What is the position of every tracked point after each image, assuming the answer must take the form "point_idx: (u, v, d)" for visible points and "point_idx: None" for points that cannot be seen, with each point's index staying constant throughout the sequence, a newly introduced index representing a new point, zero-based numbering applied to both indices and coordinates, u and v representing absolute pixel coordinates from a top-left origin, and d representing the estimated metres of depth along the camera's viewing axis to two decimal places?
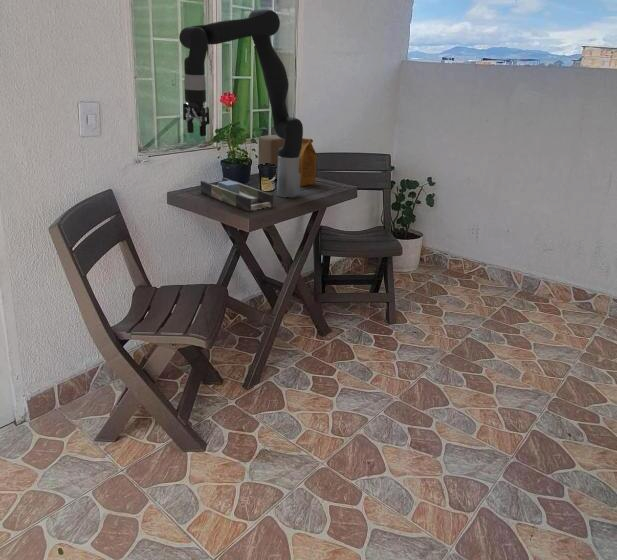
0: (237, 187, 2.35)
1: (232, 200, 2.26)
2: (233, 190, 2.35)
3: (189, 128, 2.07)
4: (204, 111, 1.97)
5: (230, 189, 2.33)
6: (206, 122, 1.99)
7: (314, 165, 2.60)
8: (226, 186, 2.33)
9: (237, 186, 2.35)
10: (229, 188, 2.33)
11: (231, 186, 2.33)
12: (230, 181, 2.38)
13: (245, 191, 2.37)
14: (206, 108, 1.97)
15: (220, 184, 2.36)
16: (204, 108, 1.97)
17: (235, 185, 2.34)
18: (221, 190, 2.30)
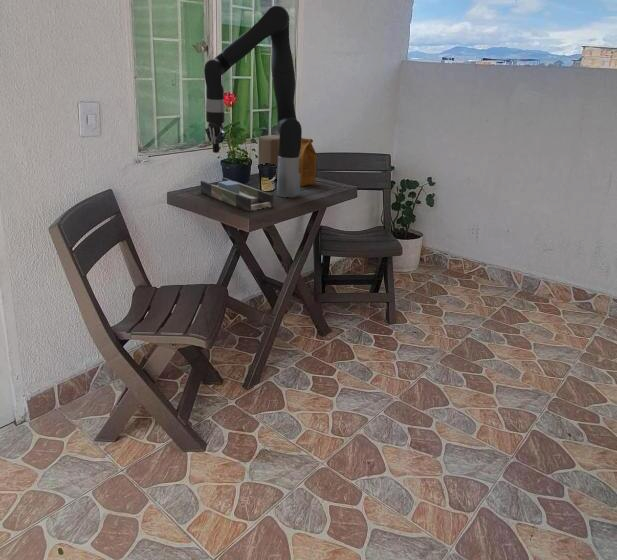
0: (237, 187, 2.35)
1: (232, 200, 2.26)
2: (233, 190, 2.35)
3: None
4: (221, 136, 2.31)
5: (230, 189, 2.33)
6: (219, 142, 2.34)
7: (314, 165, 2.60)
8: (226, 186, 2.33)
9: (237, 186, 2.35)
10: (229, 188, 2.33)
11: (231, 186, 2.33)
12: (230, 181, 2.38)
13: (245, 191, 2.37)
14: (224, 134, 2.31)
15: (220, 184, 2.36)
16: (222, 134, 2.30)
17: (235, 185, 2.34)
18: (221, 190, 2.30)
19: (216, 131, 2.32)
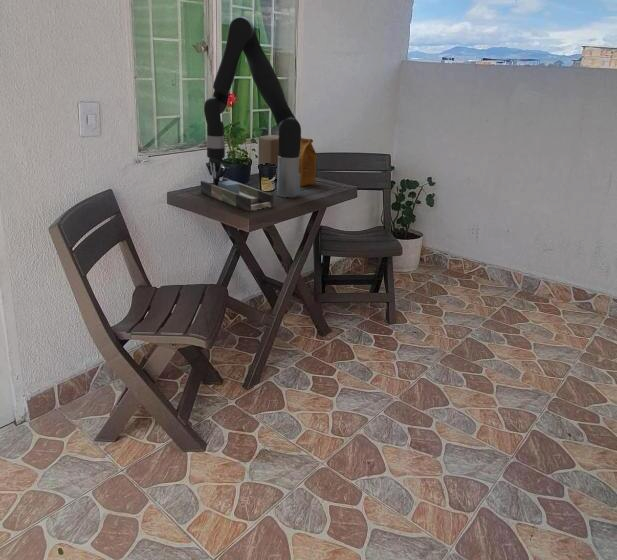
0: (237, 187, 2.35)
1: (232, 200, 2.26)
2: (233, 190, 2.35)
3: None
4: (221, 171, 2.37)
5: (230, 189, 2.33)
6: (220, 176, 2.40)
7: (314, 165, 2.60)
8: (226, 186, 2.33)
9: (237, 186, 2.35)
10: (229, 188, 2.33)
11: (231, 186, 2.33)
12: (230, 181, 2.38)
13: (245, 191, 2.37)
14: (224, 169, 2.36)
15: (220, 184, 2.36)
16: (222, 169, 2.36)
17: (235, 185, 2.34)
18: (221, 190, 2.30)
19: (217, 166, 2.38)
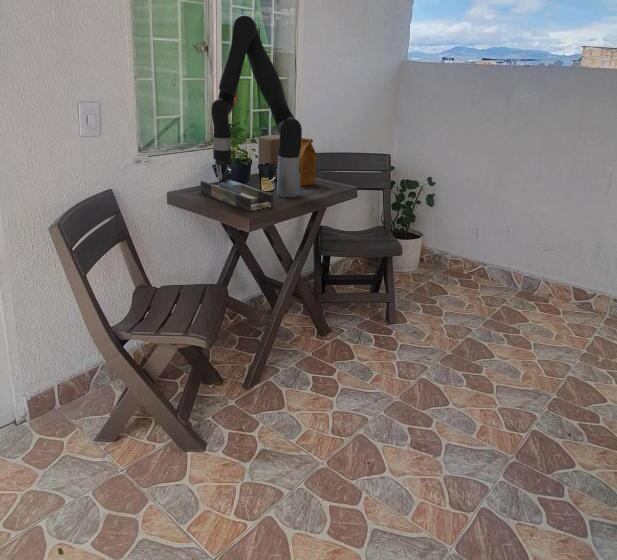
0: (238, 188, 2.35)
1: (232, 200, 2.26)
2: (234, 191, 2.34)
3: None
4: (228, 173, 2.33)
5: (231, 190, 2.32)
6: (226, 179, 2.37)
7: (314, 165, 2.60)
8: (227, 187, 2.32)
9: (238, 187, 2.34)
10: (230, 189, 2.32)
11: (232, 187, 2.32)
12: (231, 182, 2.38)
13: (245, 191, 2.37)
14: (230, 171, 2.33)
15: (221, 185, 2.35)
16: (229, 171, 2.33)
17: (236, 186, 2.33)
18: (221, 190, 2.30)
19: (223, 168, 2.35)
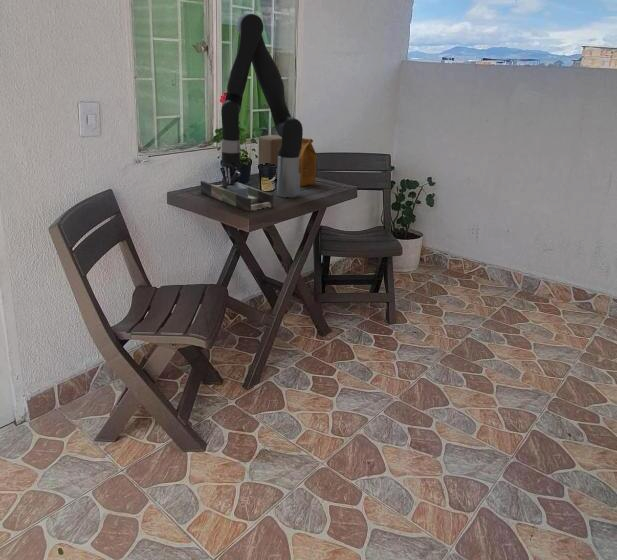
0: (245, 191, 2.29)
1: (232, 200, 2.26)
2: (241, 194, 2.29)
3: None
4: (237, 176, 2.29)
5: (238, 193, 2.28)
6: (234, 182, 2.32)
7: (314, 165, 2.60)
8: (234, 190, 2.27)
9: (245, 190, 2.29)
10: (237, 192, 2.27)
11: (239, 190, 2.27)
12: (239, 185, 2.33)
13: None
14: (239, 174, 2.29)
15: (228, 188, 2.30)
16: (238, 174, 2.28)
17: (243, 189, 2.28)
18: (221, 190, 2.30)
19: (231, 171, 2.30)
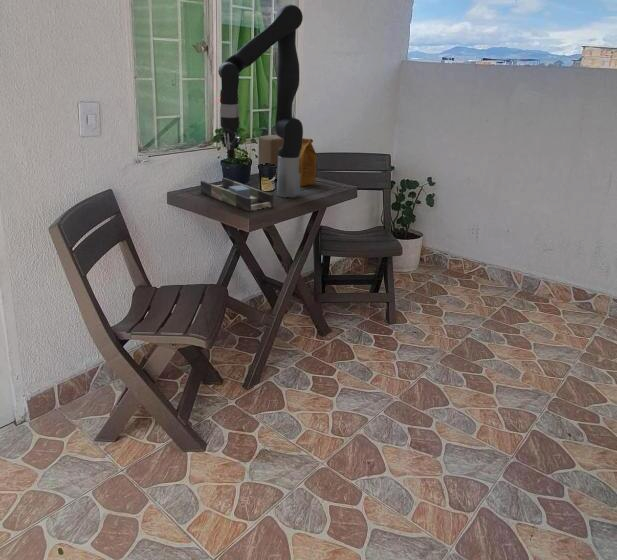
0: (247, 192, 2.28)
1: (232, 200, 2.26)
2: (243, 195, 2.27)
3: None
4: (236, 141, 2.24)
5: (240, 194, 2.26)
6: (234, 148, 2.27)
7: (314, 165, 2.60)
8: (236, 191, 2.26)
9: (247, 191, 2.28)
10: (239, 193, 2.26)
11: (241, 191, 2.26)
12: (241, 186, 2.31)
13: None
14: (239, 139, 2.24)
15: (230, 189, 2.29)
16: (237, 140, 2.23)
17: (245, 190, 2.27)
18: (221, 190, 2.30)
19: (231, 137, 2.25)
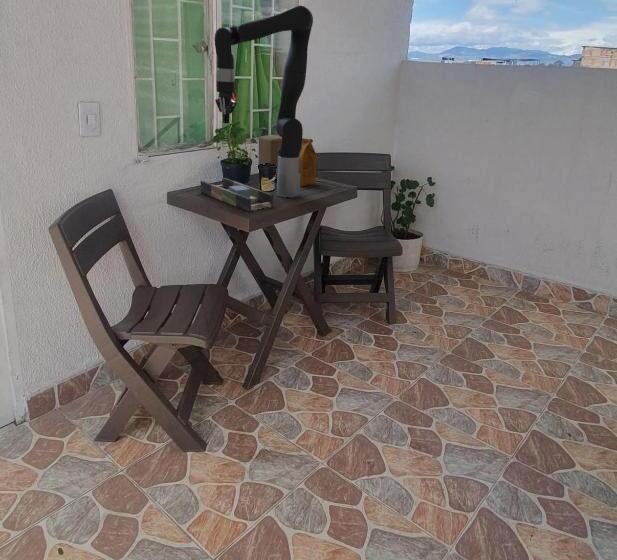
0: (247, 192, 2.28)
1: (232, 200, 2.26)
2: (243, 195, 2.27)
3: None
4: (231, 105, 2.31)
5: (240, 194, 2.26)
6: (229, 112, 2.34)
7: (314, 165, 2.60)
8: (236, 191, 2.26)
9: (247, 191, 2.28)
10: (239, 193, 2.26)
11: (241, 191, 2.26)
12: (241, 186, 2.31)
13: None
14: (234, 103, 2.31)
15: (230, 189, 2.29)
16: (232, 103, 2.30)
17: (245, 190, 2.27)
18: (221, 190, 2.30)
19: (226, 101, 2.32)
